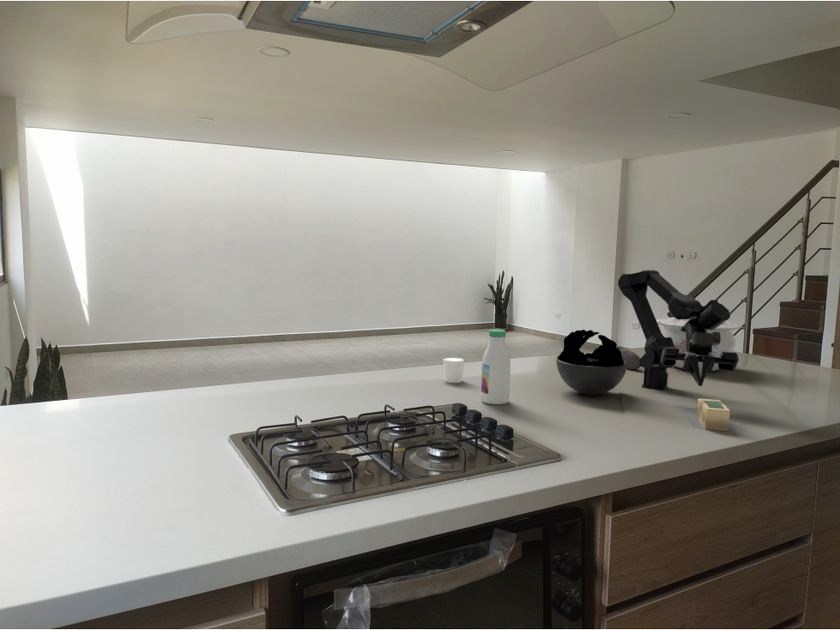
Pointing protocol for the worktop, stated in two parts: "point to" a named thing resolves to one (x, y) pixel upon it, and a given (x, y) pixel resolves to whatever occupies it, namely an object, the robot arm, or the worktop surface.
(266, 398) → the worktop surface
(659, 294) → the robot arm
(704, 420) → the letter block
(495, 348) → the milk bottle
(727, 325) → the chamber pot
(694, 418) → the slate mat
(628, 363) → the perforated stone tool
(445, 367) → the white cup
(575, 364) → the coal bowl
